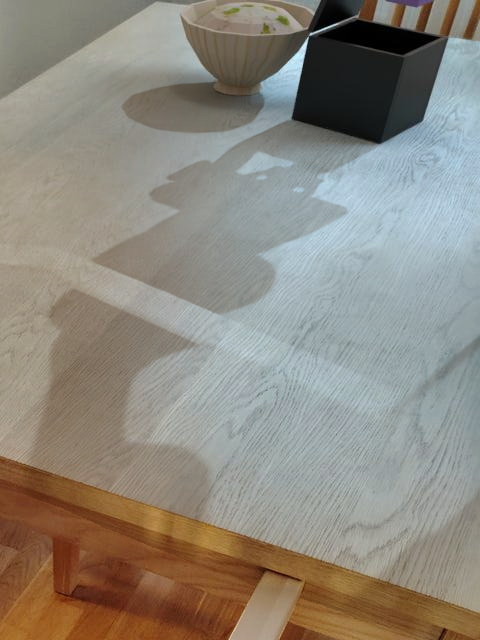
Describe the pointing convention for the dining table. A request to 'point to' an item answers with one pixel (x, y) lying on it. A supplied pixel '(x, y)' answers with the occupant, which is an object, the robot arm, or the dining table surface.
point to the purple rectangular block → (410, 2)
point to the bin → (368, 78)
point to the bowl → (245, 39)
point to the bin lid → (334, 13)
